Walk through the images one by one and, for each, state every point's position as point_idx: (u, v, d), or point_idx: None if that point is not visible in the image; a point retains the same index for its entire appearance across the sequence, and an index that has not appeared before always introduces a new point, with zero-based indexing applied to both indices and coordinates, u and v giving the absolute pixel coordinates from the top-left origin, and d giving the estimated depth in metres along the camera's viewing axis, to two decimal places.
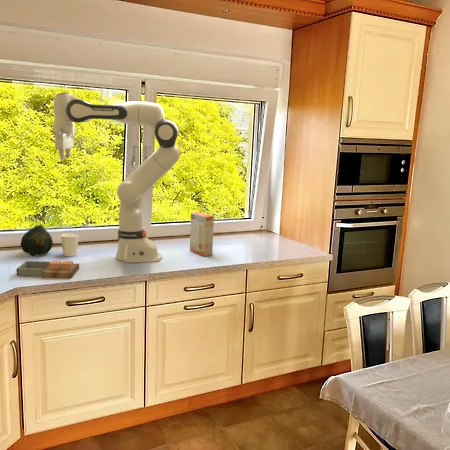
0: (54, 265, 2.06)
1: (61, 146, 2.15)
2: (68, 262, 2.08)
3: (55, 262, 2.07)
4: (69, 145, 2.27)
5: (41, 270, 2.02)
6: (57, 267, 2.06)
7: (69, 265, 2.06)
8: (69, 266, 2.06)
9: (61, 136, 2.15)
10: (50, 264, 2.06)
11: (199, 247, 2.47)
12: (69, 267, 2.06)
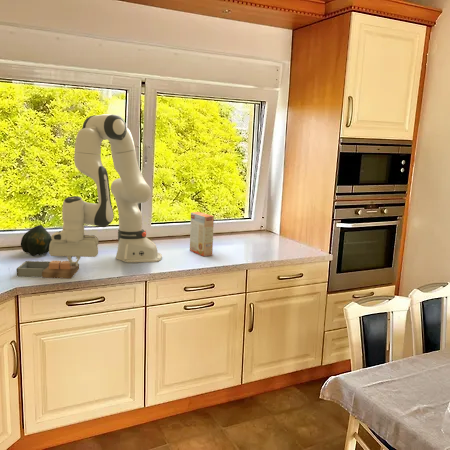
0: (54, 265, 2.06)
1: None
2: (67, 262, 2.08)
3: (55, 262, 2.07)
4: None
5: (41, 270, 2.02)
6: (57, 267, 2.06)
7: (68, 265, 2.06)
8: (68, 266, 2.06)
9: None
10: (50, 264, 2.06)
11: (199, 247, 2.47)
12: (68, 267, 2.06)
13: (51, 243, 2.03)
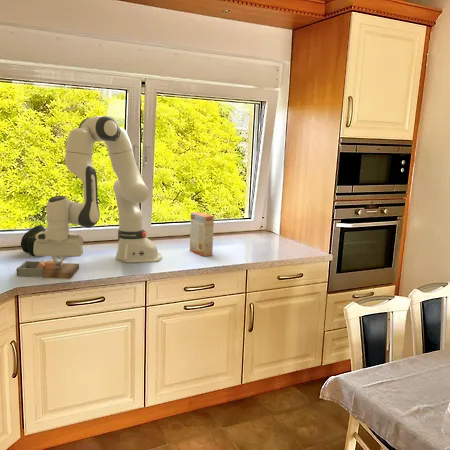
0: (39, 267, 2.06)
1: (82, 251, 2.08)
2: (52, 262, 2.07)
3: (38, 264, 2.07)
4: None
5: (41, 270, 2.02)
6: (42, 265, 2.06)
7: (53, 265, 2.06)
8: (53, 266, 2.06)
9: None
10: None
11: (199, 247, 2.47)
12: (53, 267, 2.06)
13: (35, 242, 2.03)
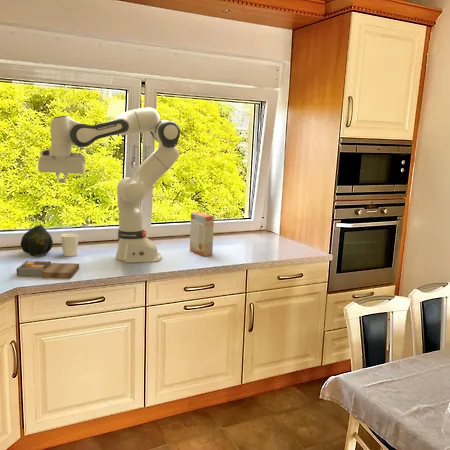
0: (27, 267, 2.05)
1: (84, 169, 2.21)
2: (39, 266, 2.08)
3: None
4: None
5: (41, 270, 2.02)
6: (29, 265, 2.05)
7: None
8: None
9: None
10: None
11: (199, 247, 2.47)
12: None
13: (40, 159, 2.16)
